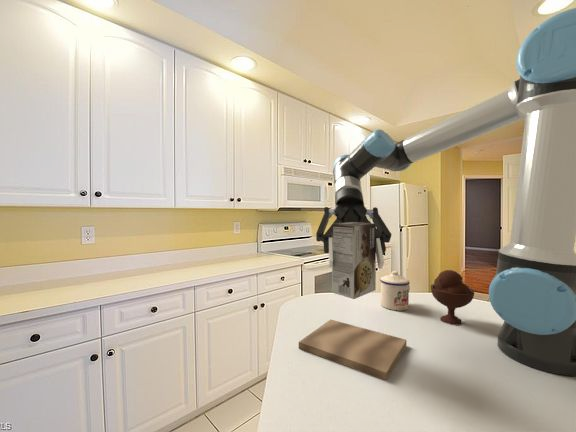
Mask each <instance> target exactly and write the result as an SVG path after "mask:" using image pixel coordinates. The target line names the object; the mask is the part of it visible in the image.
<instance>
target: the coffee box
mask: <svg viewBox="0 0 576 432" xmlns="http://www.w3.org/2000/svg"><path fill="white" fill-rule="evenodd" d="M331 225H332V251H333V265H332V267H331V293H332V294H335V295H339V296H342V297H346V298H349V299H352V300H355V299H358V298H360V297H362V296H364V295H368V294H370V293H372V292H375V291H376V285H377V284H376V267H377V266H376V265H377V264H376V261H377V257H376V223H373V222H371V223H364V222H349V223H337V224H333V223H332V224H331Z"/></svg>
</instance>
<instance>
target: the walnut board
mask: <svg viewBox="0 0 576 432" xmlns="http://www.w3.org/2000/svg"><path fill="white" fill-rule="evenodd" d="M406 348H407V339H406V338H401V337H397V336H394V335H390V334H385V333H382V332H379V331H375V330H371V329H367V328H364V327H360V326H356V325H354V324H349V323H346V322H345V323H344V322H341V321H339V320H333V319H329V320H327V321H326V322H325V323H324V324H322V325H320V326H319V327H318V328H317V329H315V330H313V331H312V332H310V333H309V334H308V335H306V336H304V338H302V339H300V340H299V341H298V349H300V350H303V351H306V352H307V353H311V354H313V355H316V356H319V357H322V358H324V359H326V360H329V361H332V362H335V363H338V364H340V365H343V366H345V367H346V366H347V367H348V368H352V369H354V370H357V371H360V372H363V373H365V374H368V375H370V376H373V377H376V378H379V379H382V380H384V381H387V380H388V378H389V377H390V375H391V373H392V371H393V369H394V368H395V366H396V365H397V363H398V361H399V359H400V358H401V356H402V355H403V352H404V351H405V349H406Z"/></svg>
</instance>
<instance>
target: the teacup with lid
mask: <svg viewBox="0 0 576 432" xmlns="http://www.w3.org/2000/svg"><path fill="white" fill-rule="evenodd" d="M379 280H380V281H379V282H380V305H381V307H383V308H384V307H385V308H384V309H387V310H390V309H391V310H392V311H396V310H397V312H398V311H399V312H400V311H406V310H408V309H409V303H410V302H409V296H410V295H409V293H410V280H409V279H408V278H406V277H404V276H402V275H401V274H399V272H398V271H395V270H393V271H392V270H391V273H389V274H388V275H383V276H381V277H380V279H379ZM391 310H390V311H391Z"/></svg>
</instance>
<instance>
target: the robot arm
mask: <svg viewBox="0 0 576 432" xmlns="http://www.w3.org/2000/svg"><path fill="white" fill-rule="evenodd" d="M515 67H516V71H517V73H518V75H519V79H517V80H515V81H513V82H512V83H511V85H510V87H509V88H508V89H506V90H505V91H503V92H501V93H498V94H496V95H494V96H492V97H490V98H488V99H485V100H483V101H481V102H480V103H477V104H475V105H473V106H471V107H469V108H467V109H464V110H462V111H460V112H458V113H456V114H454V115H452V116H450V117H448V118H446V119H443V120H442V121H439V122H437V123H435V124H433V125H432V126H431V125H430V126H429V127H427V128H425V129H423V130H420V131H418V132H417V133H415V134H412V135H410V136H408V137H406V138H404V139H401V140H400V141H398V142H395V141H394V139H393V138H392V137H391V135H389V134H388V133H387V132H385V131H384V130H383V129H375V130H374V131H372V132H371V133H370V134H369V135H368V136H366V137H365V138H364V139H363V140H362V141H361V143H359V144H358V145H357V146H356V148H354V149H353V150H352V152H351V153H349V154H343V155H340V156H338V157H337V158H336V159H335V160H334V162H333V170H332V175H333V185H334V186H333V188H334V206H335V207H334V208H333V209H330V208H329V207H328V206H326V207H323V216H322V218H321V221H320V223H319V225H318V228H317V231H316V233H315V234H316V235H315V239H316V241H317V242H322V243H323V253H324V254H328V268H332V265H333V251H332V224H337V223H349V222H364V223H376V261H377V268H378V269H379V270H380V269H381V270H382V269H383V266H384V264H385V258H384V256H385V255H386V251H387V248H386V247H387V246H386V243H387V244H388V243H390V242H391V240H392V239H391V238H392V233H391V232H390V229H389V228H388V227H387V225H386V223H385V222H384V220H383V219H382V217H381V216H380V214H379V208H378V207H376V206H375V207H373V208H372V209H367V207H365V202H364V195H363V190H362V184H361V183H362V182H361V179H362V178H363V177H364V176H366V175H367V174H368V173H370V172H371V171H372V170H373V169H375V168H379V169H383V170H384V169H385V170H388V171H391V172H402V171H405V170H407V169H408V168H409V167H410V166H411V165H412V164H414V163H417V162H418V161H419V162H420V161H421V160H424V159H427V158H430V157H432V156H434V155H436V154H439V153H441V152H443V151H447V150H449V149H452V148H455V147H457V146H459V145H461V144H465V143H467V142H469V141H472V140H474V139H476V138H479V137H482V136H485V135H486V134H489V133H492V132H495V131H497V130H499V129H502V128H504V127H507V126H509V125H512V124H514V123H518V122H520V121H524V126H523V127H524V129H523V136H522V144H521V154H520V160H519V161H520V162H519V167H518V177H517V184H516V190H515V191H516V193H515V201H514V208H513V214H512V215H513V216H512V224H511V231H510V239H509V243H507V244H506V245H505V246H503V247H501V248H499V249H498V257H497V264H496V271H495V276H494V277H493V279H492V280H491V281H490V282H491V283H490V284H489V288H488V298H489V299H488V300H489V303H490V305H491V307H492V309H493V310H494V312H495V313H496V314H497V315H498V316H499V317H500V319H502V320H503V324H502V326H501V328H500V329H499V332H498V334H497V348H498V349H499V350H500V351H501V352H502V353H503V354H504V355H506V356H507V357H508V358H510V359H513V360H514V361H516V362H518V363H520V364H523V365H526V366H528V367H531V368H534V369H537V370H540V371H544V372H548V373H551V374H557V375H563V376H571V377H576V251H575V242H576V7H574V8H573V7H572V8H569V9H567V10H564V11H561V12H559V13H556V14H555V15H552V16H551V17H549V18H547V19H546V20H544V21H543V22H542V23H540V24H539V25H538V26H536V28H534V29H533V31H531V32H530V33H529V34H528V35H527V37H526V38H525V39H524V40H523V41H522V43H521V45H520V47H519V49H518V52H517V55H516V63H515ZM333 215H334V216H335V217H336V219H335V220H334V221H333V222H332V224H331V225H330V227H329V228H328V229H327V225H328V223H329V220H330V219H331V218H332V216H333ZM367 216H368V217H369V219H370V220H372V222H371V221H370V220H369V219H368V217H367ZM326 229H327V231H326ZM325 231H326V232H325Z"/></svg>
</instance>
